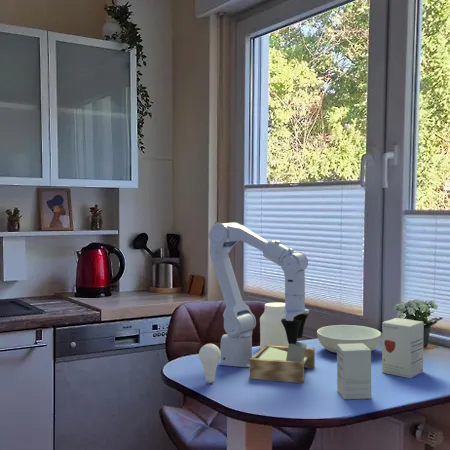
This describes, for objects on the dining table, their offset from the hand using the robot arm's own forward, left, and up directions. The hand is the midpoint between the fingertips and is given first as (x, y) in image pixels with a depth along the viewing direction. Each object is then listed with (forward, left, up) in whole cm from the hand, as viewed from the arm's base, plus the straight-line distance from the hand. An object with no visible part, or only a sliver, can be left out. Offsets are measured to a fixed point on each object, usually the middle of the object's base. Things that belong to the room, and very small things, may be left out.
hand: (295, 340), depth 171 cm
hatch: (-4, 0, -6) cm, 7 cm away
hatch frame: (-4, 0, -10) cm, 10 cm away
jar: (-12, +27, -10) cm, 31 cm away
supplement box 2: (+30, +10, -10) cm, 33 cm away
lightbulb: (-20, -16, -10) cm, 28 cm away
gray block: (0, 0, -6) cm, 6 cm away
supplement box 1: (+18, -14, -10) cm, 25 cm away
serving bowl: (+12, +29, -10) cm, 33 cm away
